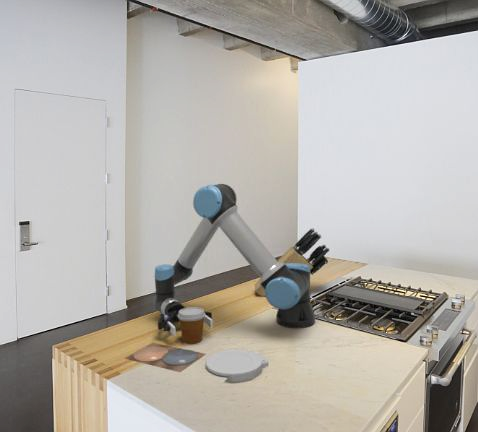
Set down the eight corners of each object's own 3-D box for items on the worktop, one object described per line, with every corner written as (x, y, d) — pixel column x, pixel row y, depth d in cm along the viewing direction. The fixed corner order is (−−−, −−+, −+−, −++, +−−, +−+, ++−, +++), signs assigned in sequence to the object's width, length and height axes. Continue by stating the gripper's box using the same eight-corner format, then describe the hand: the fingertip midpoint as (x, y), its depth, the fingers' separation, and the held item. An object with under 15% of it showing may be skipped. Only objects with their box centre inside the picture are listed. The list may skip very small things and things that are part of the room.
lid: (281, 370, 132) (281, 361, 132) (224, 390, 122) (223, 379, 121) (249, 351, 147) (249, 342, 146) (196, 367, 136) (195, 357, 136)
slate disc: (204, 354, 141) (204, 353, 141) (183, 368, 131) (183, 367, 131) (176, 348, 146) (176, 347, 146) (155, 361, 137) (154, 360, 137)
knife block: (330, 295, 206) (330, 230, 203) (255, 297, 207) (253, 232, 203) (326, 288, 217) (325, 226, 214) (254, 290, 218) (253, 228, 214)
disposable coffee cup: (179, 340, 157) (178, 307, 156) (206, 338, 158) (205, 306, 157) (178, 350, 148) (176, 316, 147) (206, 349, 149) (205, 314, 147)
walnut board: (206, 358, 141) (206, 353, 141) (180, 377, 129) (180, 372, 129) (152, 346, 152) (152, 342, 152) (124, 362, 140) (123, 358, 140)
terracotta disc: (175, 351, 144) (175, 349, 144) (153, 364, 135) (153, 363, 134) (149, 345, 149) (148, 344, 149) (126, 358, 140) (126, 356, 140)
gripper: (203, 314, 175) (226, 331, 156) (141, 326, 164) (158, 345, 145) (203, 296, 174) (226, 310, 156) (140, 306, 163) (157, 323, 144)
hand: (193, 327), depth 150 cm, fingers open, 13 cm apart
